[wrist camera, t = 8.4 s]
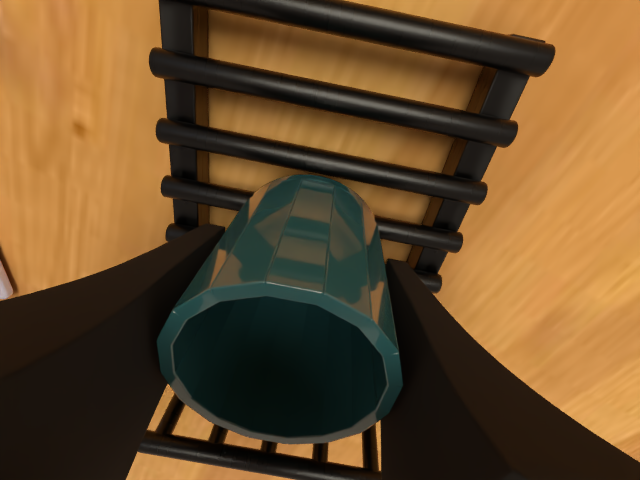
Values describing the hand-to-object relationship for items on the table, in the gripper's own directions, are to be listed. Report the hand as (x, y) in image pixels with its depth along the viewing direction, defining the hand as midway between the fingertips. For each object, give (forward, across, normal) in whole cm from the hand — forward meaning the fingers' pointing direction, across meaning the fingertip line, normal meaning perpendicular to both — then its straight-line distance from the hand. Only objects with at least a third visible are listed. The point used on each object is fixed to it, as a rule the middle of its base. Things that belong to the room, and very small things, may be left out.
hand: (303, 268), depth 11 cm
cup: (+2, 0, 0) cm, 2 cm away
